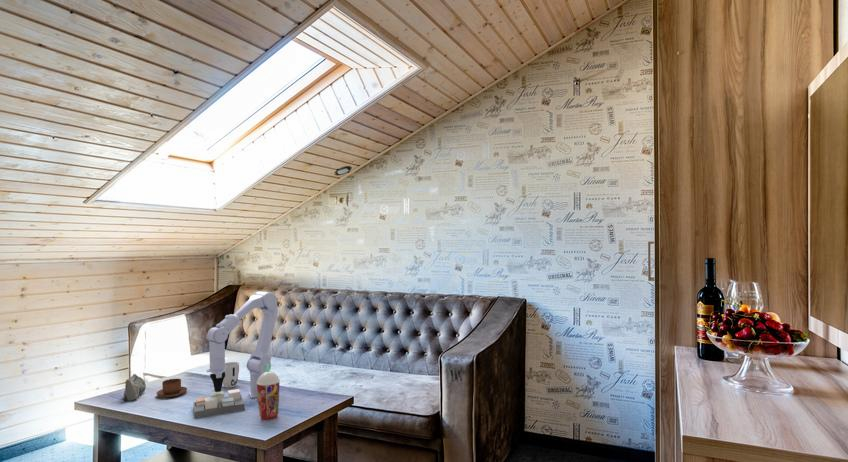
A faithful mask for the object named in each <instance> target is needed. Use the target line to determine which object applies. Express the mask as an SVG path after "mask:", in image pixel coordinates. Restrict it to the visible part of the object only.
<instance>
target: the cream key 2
mask: <svg viewBox="0 0 848 462" xmlns="http://www.w3.org/2000/svg"><path fill="white" fill-rule="evenodd" d="M240 395H241V391H240V388H237V389H230V390H227V397H228V398H232V397H233V400H240Z"/></svg>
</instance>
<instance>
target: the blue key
mask: <svg viewBox="0 0 848 462" xmlns="http://www.w3.org/2000/svg"><path fill="white" fill-rule="evenodd" d="M221 402H222V407H225V406H231V405H234V400H233V397H232V398H226V399H221Z"/></svg>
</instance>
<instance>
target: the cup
mask: <svg viewBox="0 0 848 462" xmlns="http://www.w3.org/2000/svg"><path fill="white" fill-rule="evenodd" d="M225 368H226V370H225V371H224V372H225V377H224V380H223V383H222V386H224V388H226V389H230V388H235V387H236V386H237V385H238V380H239V374H240V362H237V361H229V362H225Z"/></svg>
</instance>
